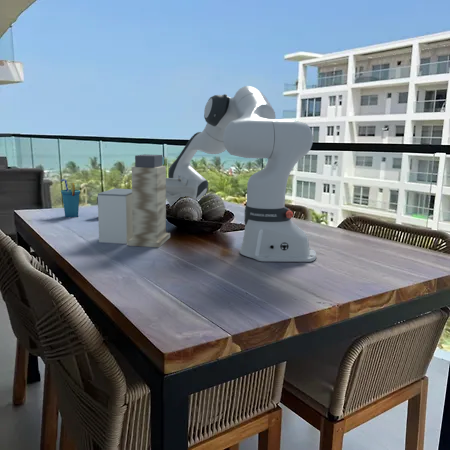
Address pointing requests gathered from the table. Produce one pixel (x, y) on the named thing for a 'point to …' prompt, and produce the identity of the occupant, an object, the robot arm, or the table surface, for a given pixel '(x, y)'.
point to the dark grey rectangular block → (149, 161)
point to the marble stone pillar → (148, 207)
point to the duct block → (115, 216)
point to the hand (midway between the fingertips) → (167, 176)
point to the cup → (70, 200)
